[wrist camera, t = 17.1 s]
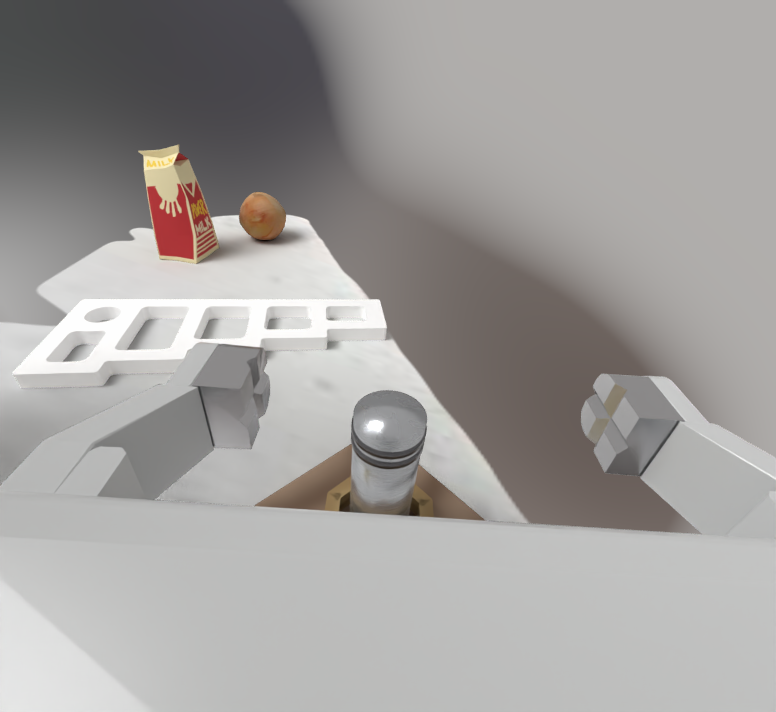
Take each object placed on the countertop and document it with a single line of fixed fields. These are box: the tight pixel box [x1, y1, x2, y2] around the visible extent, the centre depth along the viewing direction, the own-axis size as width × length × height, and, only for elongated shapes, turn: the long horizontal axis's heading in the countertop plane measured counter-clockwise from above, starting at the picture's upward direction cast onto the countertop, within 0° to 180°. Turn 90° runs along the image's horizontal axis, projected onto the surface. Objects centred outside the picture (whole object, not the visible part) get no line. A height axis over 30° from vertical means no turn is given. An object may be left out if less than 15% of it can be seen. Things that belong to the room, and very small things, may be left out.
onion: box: [239, 192, 286, 240], centre depth 88 cm, size 10×10×10 cm
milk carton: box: [139, 145, 219, 264], centre depth 76 cm, size 9×9×20 cm
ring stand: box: [255, 444, 485, 521], centre depth 35 cm, size 18×16×3 cm
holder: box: [12, 299, 387, 389], centre depth 58 cm, size 45×18×3 cm, turn 98°
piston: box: [350, 390, 427, 516], centre depth 31 cm, size 5×5×14 cm
